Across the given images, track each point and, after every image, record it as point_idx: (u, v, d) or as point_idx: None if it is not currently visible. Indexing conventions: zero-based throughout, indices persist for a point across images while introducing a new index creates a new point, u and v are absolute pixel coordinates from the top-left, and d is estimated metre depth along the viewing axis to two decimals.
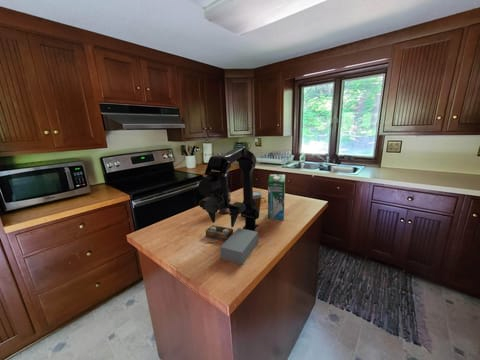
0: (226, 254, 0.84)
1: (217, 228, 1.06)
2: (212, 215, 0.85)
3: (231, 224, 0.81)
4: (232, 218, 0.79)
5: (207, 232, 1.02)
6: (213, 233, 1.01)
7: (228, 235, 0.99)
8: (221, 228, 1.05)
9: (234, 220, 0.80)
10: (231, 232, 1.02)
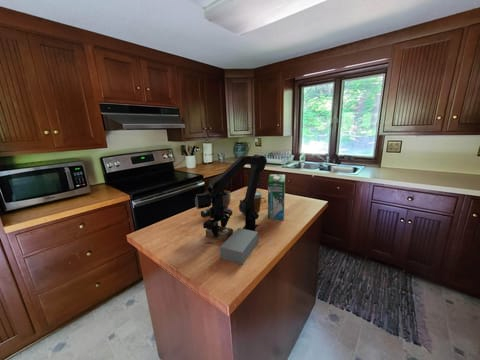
0: (226, 254, 0.84)
1: None
2: (221, 224, 1.06)
3: (214, 234, 1.00)
4: None
5: (207, 232, 1.02)
6: None
7: (228, 235, 0.99)
8: (221, 228, 1.05)
9: (214, 232, 0.99)
10: (231, 232, 1.02)
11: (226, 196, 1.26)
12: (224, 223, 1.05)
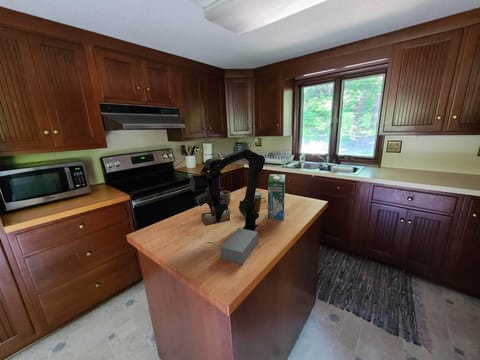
0: (226, 254, 0.84)
1: None
2: (212, 209, 0.99)
3: (216, 218, 0.93)
4: (215, 213, 0.92)
5: (207, 220, 0.92)
6: (214, 218, 0.93)
7: None
8: (213, 213, 0.99)
9: (218, 216, 0.92)
10: None
11: (226, 196, 1.26)
12: None
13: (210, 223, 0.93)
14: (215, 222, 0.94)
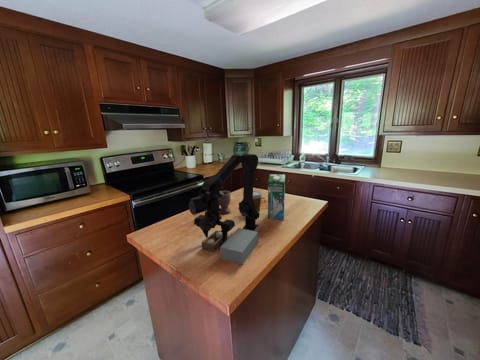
0: (226, 254, 0.84)
1: (207, 241, 0.95)
2: (205, 231, 0.96)
3: (222, 239, 0.93)
4: (223, 234, 0.91)
5: (215, 246, 0.90)
6: (219, 241, 0.93)
7: None
8: (210, 237, 0.97)
9: (225, 235, 0.93)
10: None
11: (226, 196, 1.26)
12: None
13: (217, 248, 0.92)
14: (220, 245, 0.94)
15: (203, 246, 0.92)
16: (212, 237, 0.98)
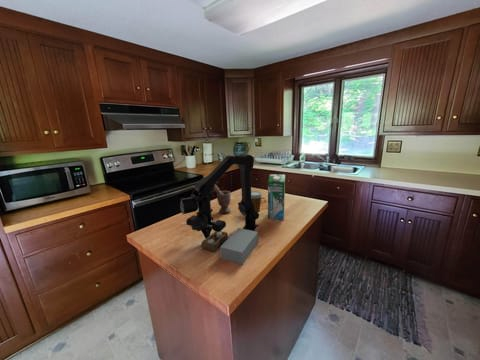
0: (226, 254, 0.84)
1: (207, 241, 0.95)
2: (205, 233, 0.97)
3: (206, 237, 0.97)
4: (206, 232, 0.95)
5: (215, 246, 0.90)
6: (219, 241, 0.93)
7: None
8: (210, 237, 0.97)
9: (208, 234, 0.97)
10: None
11: (226, 196, 1.26)
12: None
13: (217, 248, 0.92)
14: (220, 245, 0.94)
15: (203, 246, 0.92)
16: (212, 237, 0.98)
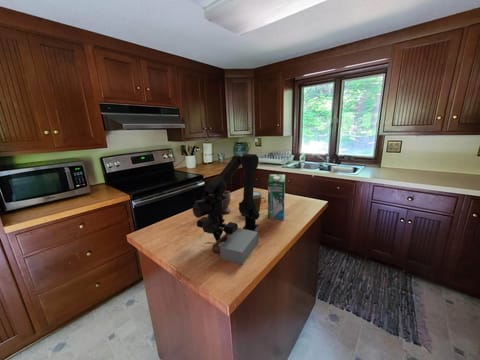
0: (226, 254, 0.84)
1: (218, 244, 0.92)
2: None
3: (217, 239, 0.94)
4: (217, 234, 0.93)
5: None
6: None
7: None
8: (221, 240, 0.94)
9: (219, 236, 0.94)
10: None
11: (226, 196, 1.26)
12: None
13: None
14: None
15: (214, 249, 0.89)
16: (223, 240, 0.96)
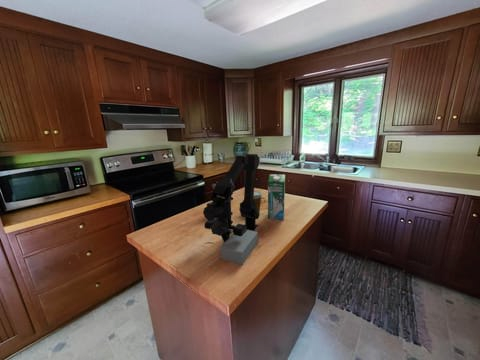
0: (226, 254, 0.84)
1: None
2: (224, 237, 0.92)
3: None
4: (226, 236, 0.91)
5: None
6: None
7: None
8: None
9: (227, 238, 0.92)
10: None
11: None
12: None
13: None
14: None
15: None
16: None
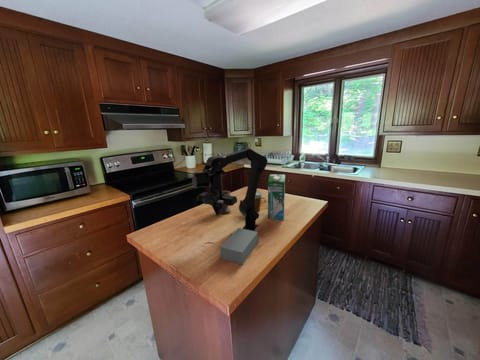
0: (226, 254, 0.84)
1: None
2: (216, 209, 0.97)
3: (217, 213, 0.97)
4: (218, 208, 0.96)
5: None
6: None
7: None
8: None
9: (219, 210, 0.97)
10: None
11: (226, 196, 1.26)
12: None
13: None
14: None
15: None
16: None
